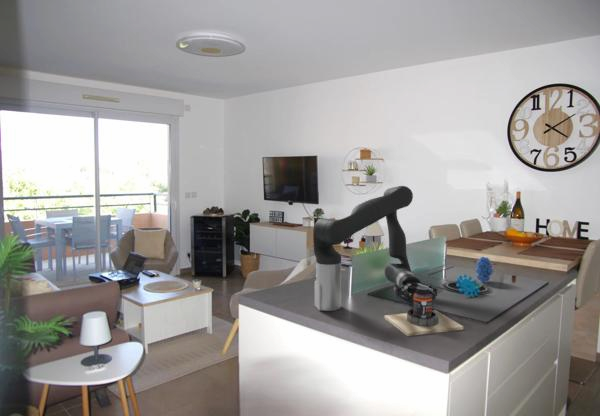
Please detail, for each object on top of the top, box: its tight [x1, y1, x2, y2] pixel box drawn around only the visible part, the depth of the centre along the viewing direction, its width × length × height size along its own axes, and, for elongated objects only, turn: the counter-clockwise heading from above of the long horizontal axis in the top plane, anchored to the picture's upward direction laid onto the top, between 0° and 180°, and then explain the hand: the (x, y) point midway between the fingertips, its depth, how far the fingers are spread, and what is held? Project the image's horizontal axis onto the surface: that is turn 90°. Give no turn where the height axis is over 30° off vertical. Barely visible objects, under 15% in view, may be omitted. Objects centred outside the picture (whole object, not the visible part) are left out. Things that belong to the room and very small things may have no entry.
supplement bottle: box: [412, 285, 433, 318], centre depth 142 cm, size 6×6×11 cm
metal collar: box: [406, 308, 439, 327], centre depth 143 cm, size 10×10×2 cm
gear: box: [455, 274, 482, 298], centre depth 175 cm, size 11×6×10 cm
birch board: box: [383, 309, 464, 337], centre depth 143 cm, size 20×16×1 cm
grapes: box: [474, 256, 494, 284], centre depth 190 cm, size 12×7×12 cm, turn 129°
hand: (421, 296), depth 144 cm, fingers open, 8 cm apart
